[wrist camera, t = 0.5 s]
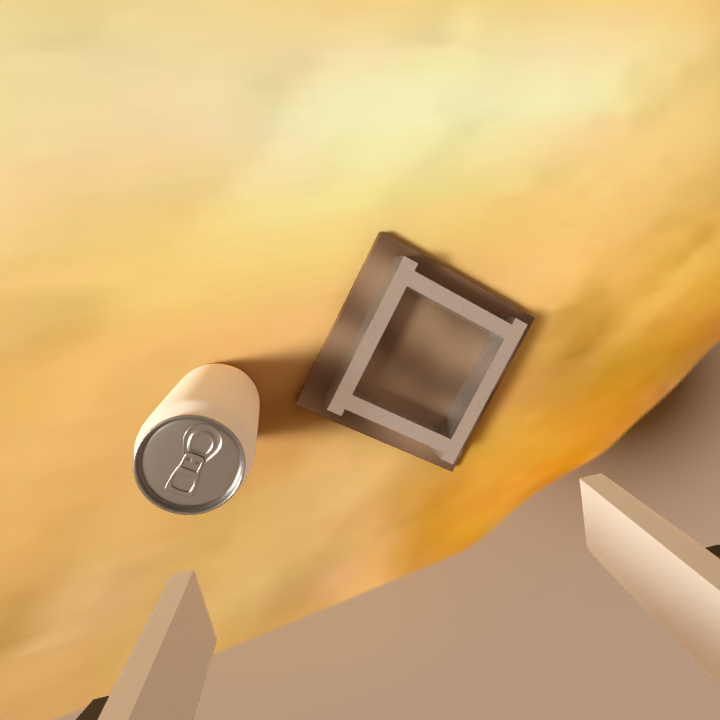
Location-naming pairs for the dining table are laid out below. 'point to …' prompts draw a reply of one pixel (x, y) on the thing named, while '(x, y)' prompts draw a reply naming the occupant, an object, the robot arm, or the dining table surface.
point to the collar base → (407, 350)
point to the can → (199, 441)
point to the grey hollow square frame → (475, 387)
